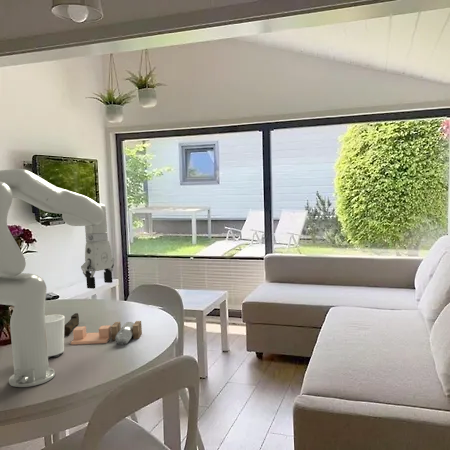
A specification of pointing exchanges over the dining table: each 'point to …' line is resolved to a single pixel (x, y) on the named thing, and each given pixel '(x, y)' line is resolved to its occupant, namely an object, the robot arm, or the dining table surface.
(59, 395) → the dining table surface
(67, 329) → the hand tool
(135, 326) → the channel block
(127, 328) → the axle
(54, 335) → the cup
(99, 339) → the cradle
